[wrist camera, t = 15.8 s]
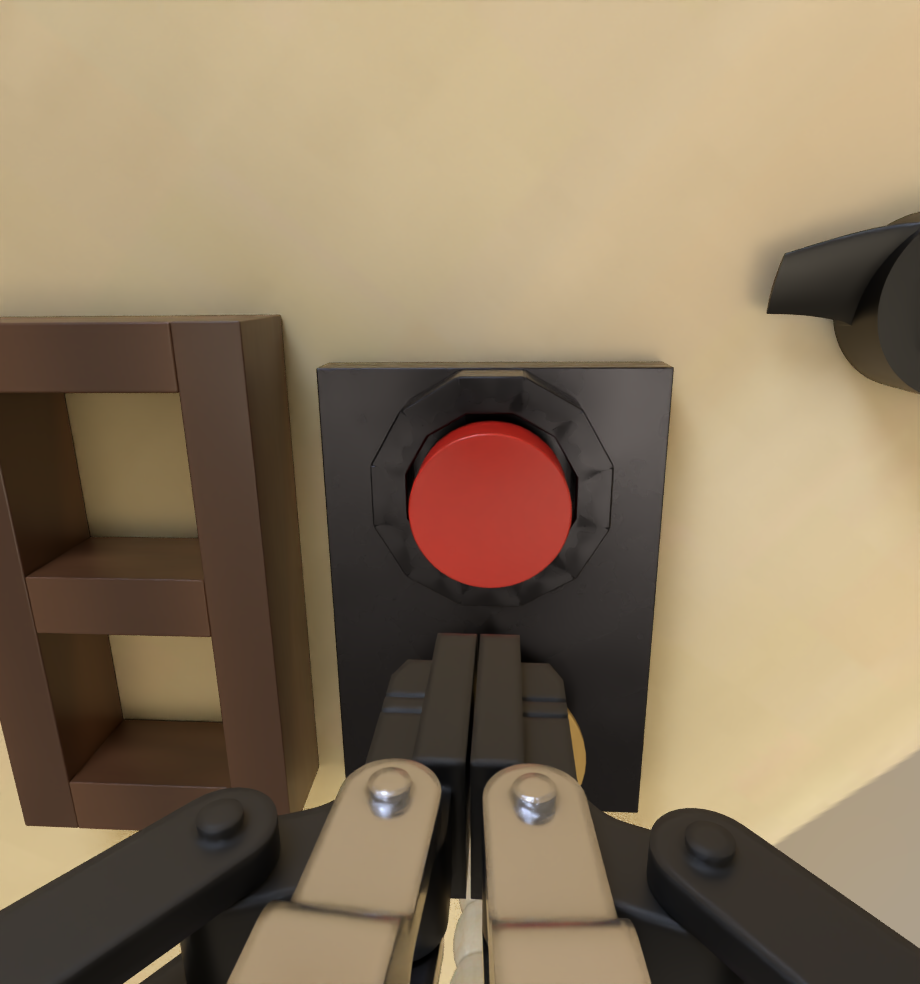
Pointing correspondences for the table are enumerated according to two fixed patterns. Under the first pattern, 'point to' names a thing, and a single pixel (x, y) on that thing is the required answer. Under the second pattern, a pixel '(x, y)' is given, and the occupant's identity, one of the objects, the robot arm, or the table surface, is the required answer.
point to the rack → (151, 574)
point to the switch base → (527, 605)
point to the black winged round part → (862, 297)
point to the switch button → (490, 505)
